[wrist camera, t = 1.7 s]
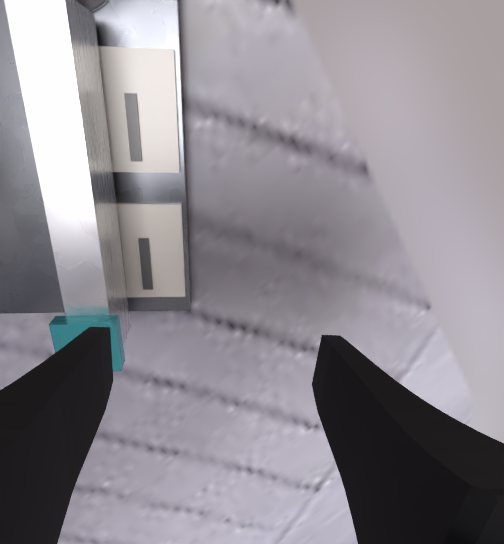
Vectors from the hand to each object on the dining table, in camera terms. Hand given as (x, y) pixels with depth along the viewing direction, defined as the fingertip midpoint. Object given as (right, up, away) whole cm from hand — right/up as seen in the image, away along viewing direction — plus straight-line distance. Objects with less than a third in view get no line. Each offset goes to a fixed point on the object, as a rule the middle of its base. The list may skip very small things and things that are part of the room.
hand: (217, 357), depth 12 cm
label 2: (-5, +4, +8) cm, 10 cm away
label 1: (-5, +10, +5) cm, 12 cm away
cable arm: (-6, +6, +5) cm, 10 cm away
